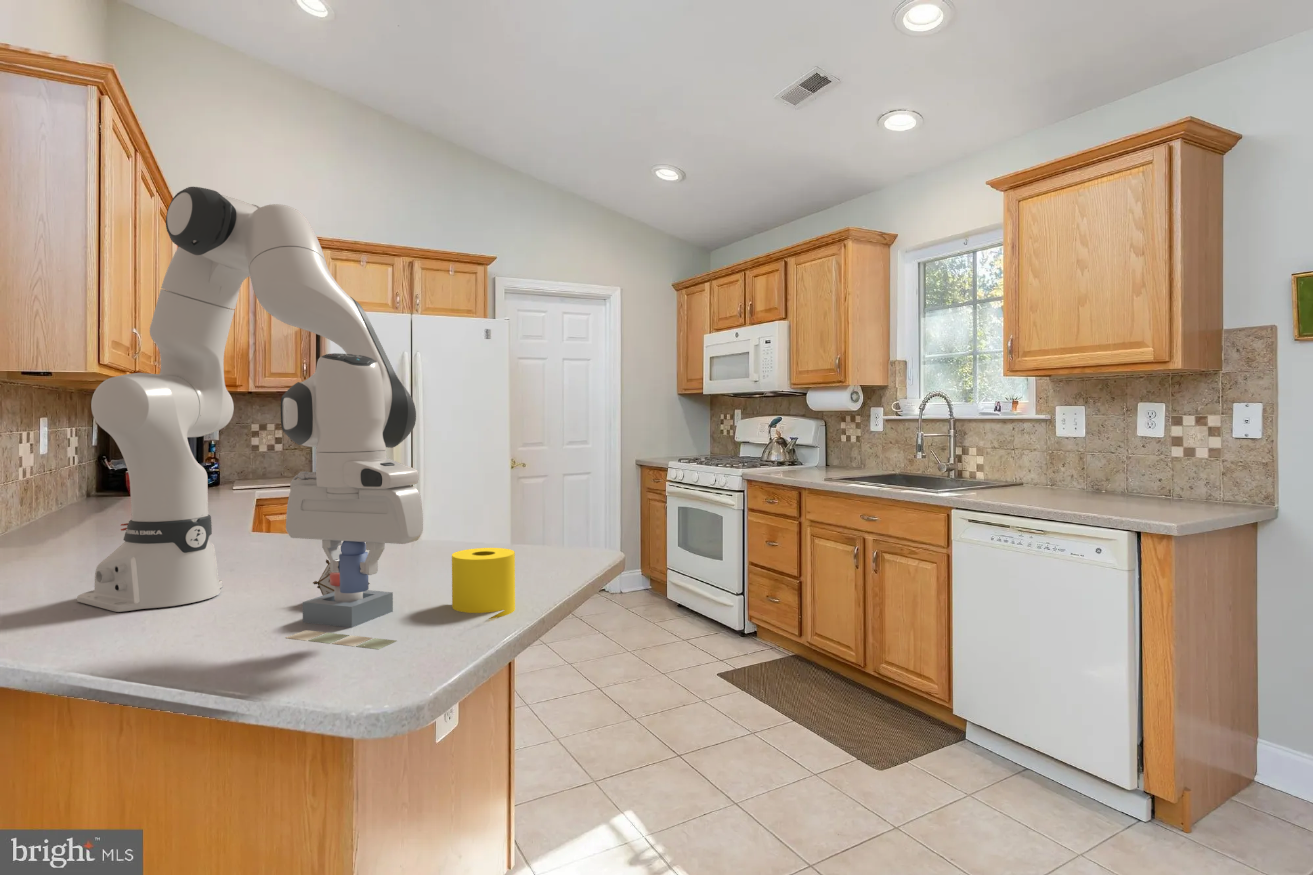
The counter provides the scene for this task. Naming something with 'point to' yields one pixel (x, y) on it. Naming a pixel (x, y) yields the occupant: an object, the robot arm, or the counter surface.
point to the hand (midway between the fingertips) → (354, 573)
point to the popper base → (347, 609)
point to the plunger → (343, 596)
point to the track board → (346, 641)
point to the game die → (326, 581)
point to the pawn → (352, 567)
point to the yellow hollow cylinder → (484, 581)
